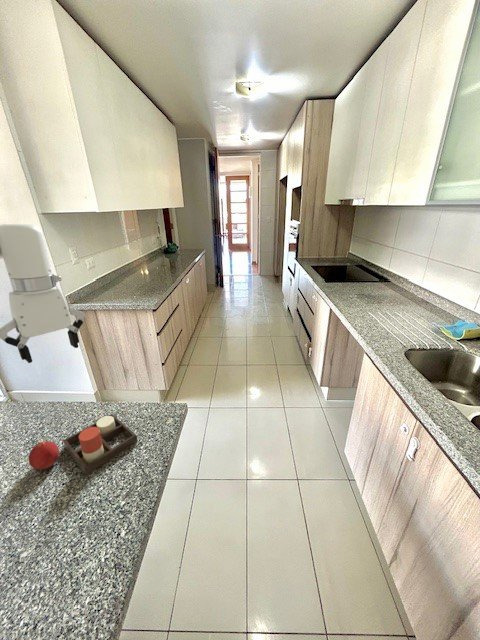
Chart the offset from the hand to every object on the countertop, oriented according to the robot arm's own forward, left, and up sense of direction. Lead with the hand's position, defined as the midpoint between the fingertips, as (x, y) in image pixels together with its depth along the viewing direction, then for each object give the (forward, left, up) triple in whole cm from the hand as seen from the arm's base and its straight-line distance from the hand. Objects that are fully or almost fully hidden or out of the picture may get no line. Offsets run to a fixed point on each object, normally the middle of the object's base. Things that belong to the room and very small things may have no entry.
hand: (53, 353), depth 63 cm
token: (+6, +6, -26) cm, 27 cm away
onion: (+5, -8, -26) cm, 28 cm away
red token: (+12, 0, -22) cm, 25 cm away
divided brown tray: (+9, +3, -26) cm, 28 cm away
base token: (+12, 0, -26) cm, 28 cm away
